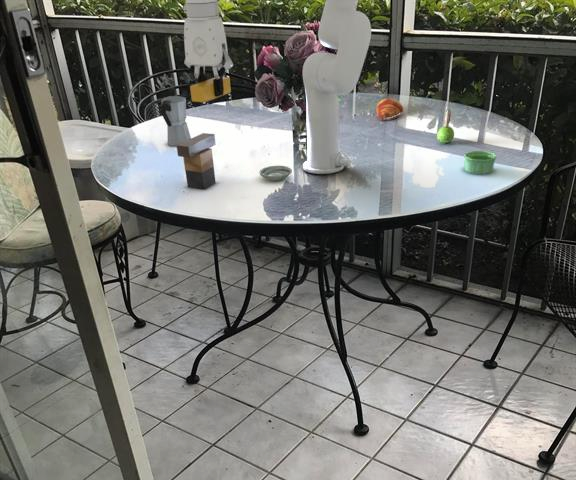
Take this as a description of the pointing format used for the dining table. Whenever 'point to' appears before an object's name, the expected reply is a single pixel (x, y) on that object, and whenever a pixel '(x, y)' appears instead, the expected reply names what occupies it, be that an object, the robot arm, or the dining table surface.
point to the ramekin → (479, 162)
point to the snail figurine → (446, 129)
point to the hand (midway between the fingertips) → (211, 94)
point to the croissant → (388, 108)
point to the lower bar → (196, 145)
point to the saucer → (275, 172)
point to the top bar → (208, 90)
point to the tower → (200, 170)
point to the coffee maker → (175, 118)
